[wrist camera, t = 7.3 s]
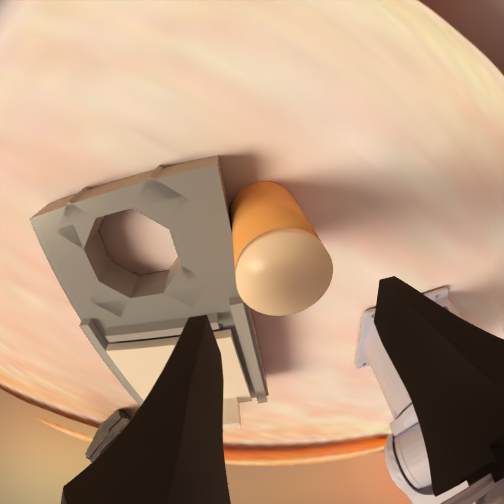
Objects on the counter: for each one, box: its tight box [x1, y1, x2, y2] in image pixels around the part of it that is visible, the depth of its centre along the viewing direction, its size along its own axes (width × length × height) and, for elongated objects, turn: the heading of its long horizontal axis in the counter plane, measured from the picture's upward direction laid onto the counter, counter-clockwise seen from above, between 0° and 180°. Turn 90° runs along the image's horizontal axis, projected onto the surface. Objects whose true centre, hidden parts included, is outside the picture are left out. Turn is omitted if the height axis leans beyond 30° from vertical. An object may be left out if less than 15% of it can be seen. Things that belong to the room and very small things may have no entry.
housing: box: [30, 156, 269, 406], centre depth 19 cm, size 12×20×3 cm, turn 9°
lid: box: [106, 329, 252, 430], centre depth 19 cm, size 9×8×3 cm
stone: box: [86, 410, 132, 462], centre depth 24 cm, size 14×6×10 cm, turn 157°
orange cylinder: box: [231, 181, 333, 316], centre depth 15 cm, size 4×4×7 cm
